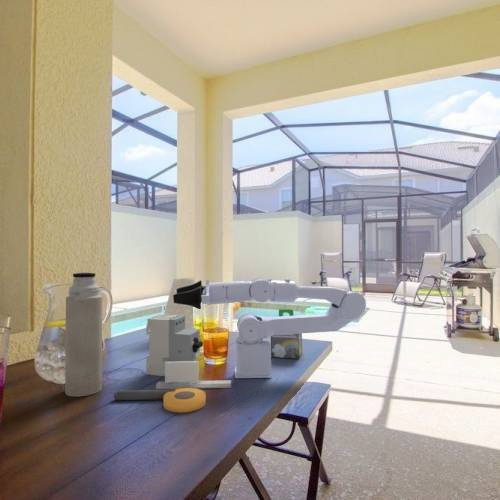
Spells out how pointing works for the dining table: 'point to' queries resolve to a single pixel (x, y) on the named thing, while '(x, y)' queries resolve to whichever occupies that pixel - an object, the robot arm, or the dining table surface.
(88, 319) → the thermos bottle
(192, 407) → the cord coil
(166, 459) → the dining table surface
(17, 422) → the dining table surface
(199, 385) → the rail
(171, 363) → the panel
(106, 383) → the dining table surface
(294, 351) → the chalk box
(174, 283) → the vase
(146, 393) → the grey rounded rod
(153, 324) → the circuit breaker
